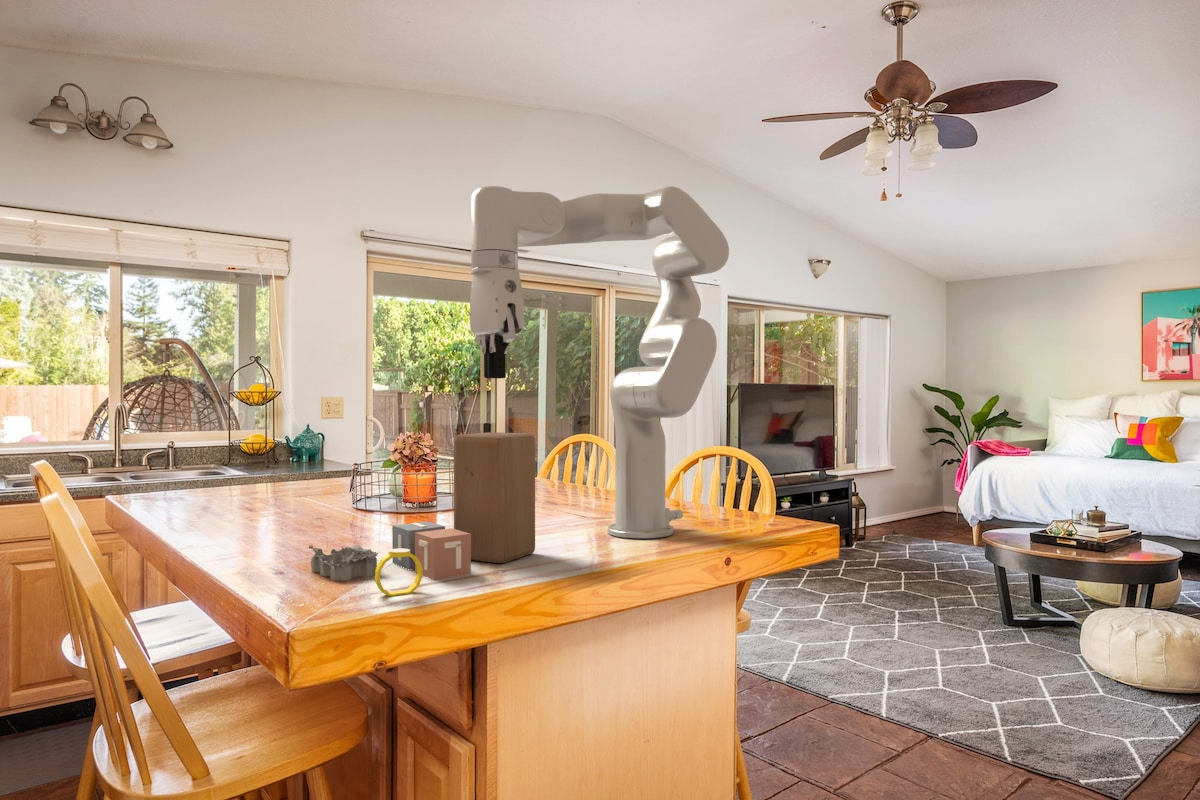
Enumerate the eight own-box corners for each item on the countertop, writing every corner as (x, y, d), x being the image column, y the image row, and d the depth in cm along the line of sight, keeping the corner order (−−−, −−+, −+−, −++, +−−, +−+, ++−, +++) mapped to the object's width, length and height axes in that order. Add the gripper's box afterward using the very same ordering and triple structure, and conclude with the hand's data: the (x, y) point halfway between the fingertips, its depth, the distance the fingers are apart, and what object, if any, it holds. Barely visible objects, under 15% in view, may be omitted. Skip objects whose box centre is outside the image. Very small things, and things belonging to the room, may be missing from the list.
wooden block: (451, 559, 120) (451, 434, 120) (488, 548, 129) (488, 431, 129) (502, 565, 115) (502, 436, 115) (537, 553, 124) (537, 433, 124)
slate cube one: (427, 558, 121) (427, 520, 121) (445, 564, 116) (445, 525, 116) (391, 563, 117) (391, 524, 117) (408, 570, 112) (408, 529, 112)
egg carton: (306, 571, 113) (305, 544, 113) (354, 564, 118) (354, 538, 118) (332, 584, 105) (332, 555, 105) (383, 576, 110) (383, 548, 110)
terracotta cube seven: (451, 567, 115) (451, 528, 115) (471, 574, 110) (471, 533, 110) (413, 573, 111) (413, 532, 111) (432, 581, 106) (432, 538, 106)
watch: (416, 591, 102) (419, 547, 102) (423, 596, 99) (426, 550, 99) (372, 594, 99) (375, 548, 99) (377, 599, 96) (380, 552, 96)
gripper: (539, 261, 119) (540, 377, 119) (490, 273, 130) (491, 379, 130) (499, 256, 114) (499, 376, 114) (452, 269, 125) (452, 378, 125)
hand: (494, 377), depth 122 cm, fingers closed
